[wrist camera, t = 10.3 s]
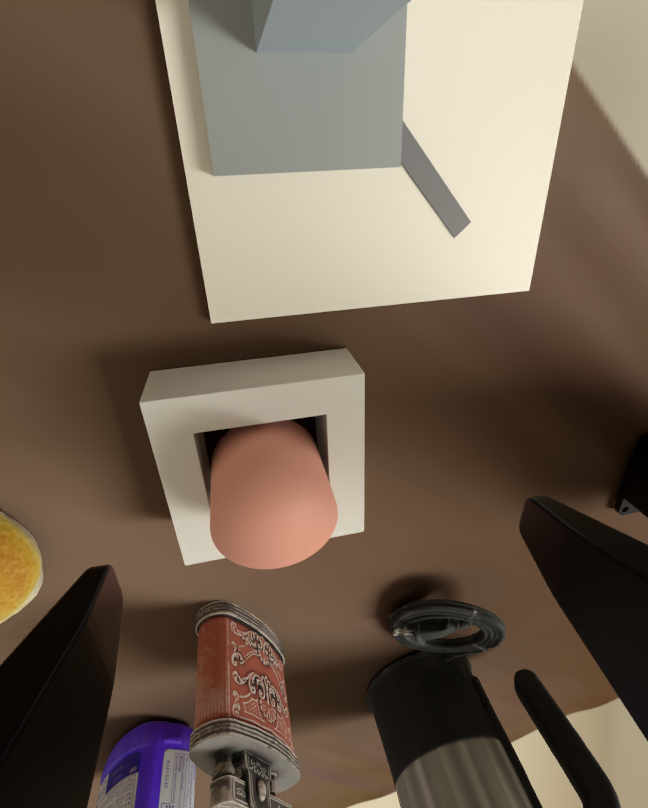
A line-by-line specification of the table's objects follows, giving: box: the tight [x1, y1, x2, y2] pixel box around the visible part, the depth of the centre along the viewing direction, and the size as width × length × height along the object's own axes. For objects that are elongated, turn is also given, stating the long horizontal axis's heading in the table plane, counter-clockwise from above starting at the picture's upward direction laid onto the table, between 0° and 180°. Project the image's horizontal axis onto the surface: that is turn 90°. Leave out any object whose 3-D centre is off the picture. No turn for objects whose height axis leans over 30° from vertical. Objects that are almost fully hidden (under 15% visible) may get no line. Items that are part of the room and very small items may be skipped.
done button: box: [210, 420, 338, 569], centre depth 19 cm, size 5×5×4 cm
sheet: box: [155, 0, 584, 324], centre depth 16 cm, size 15×16×1 cm
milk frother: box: [366, 599, 621, 808], centre depth 28 cm, size 14×16×15 cm
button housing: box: [139, 348, 365, 566], centre depth 21 cm, size 9×9×3 cm
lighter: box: [189, 601, 300, 808], centre depth 25 cm, size 8×3×10 cm, turn 28°
